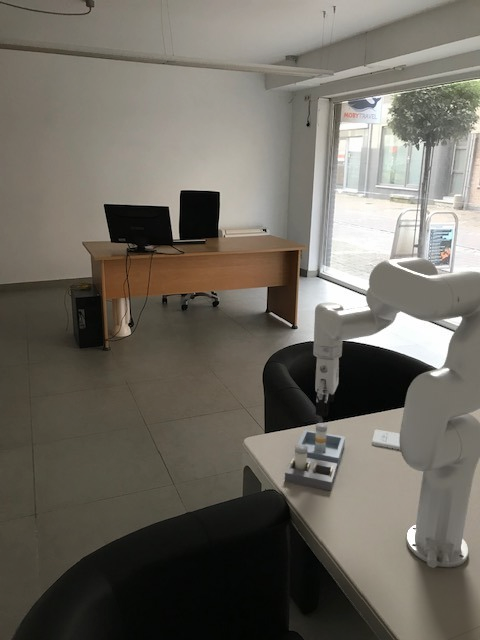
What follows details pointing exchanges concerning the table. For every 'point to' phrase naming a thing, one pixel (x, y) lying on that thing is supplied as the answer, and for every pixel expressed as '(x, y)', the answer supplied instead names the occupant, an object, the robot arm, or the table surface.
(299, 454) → the fuse
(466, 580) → the table surface
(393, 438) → the external hard drive
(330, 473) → the fuse holder
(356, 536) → the table surface
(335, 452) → the tray
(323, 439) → the marked fuse
